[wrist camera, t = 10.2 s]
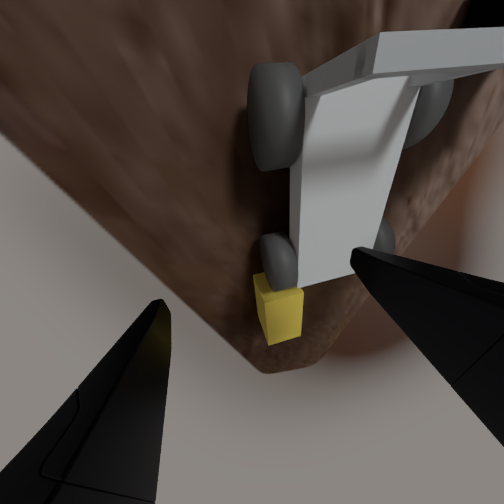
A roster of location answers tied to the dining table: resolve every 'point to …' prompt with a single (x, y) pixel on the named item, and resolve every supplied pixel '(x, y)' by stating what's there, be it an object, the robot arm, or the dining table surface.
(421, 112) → the trolley
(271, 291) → the block
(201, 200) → the dining table surface
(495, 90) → the dining table surface
